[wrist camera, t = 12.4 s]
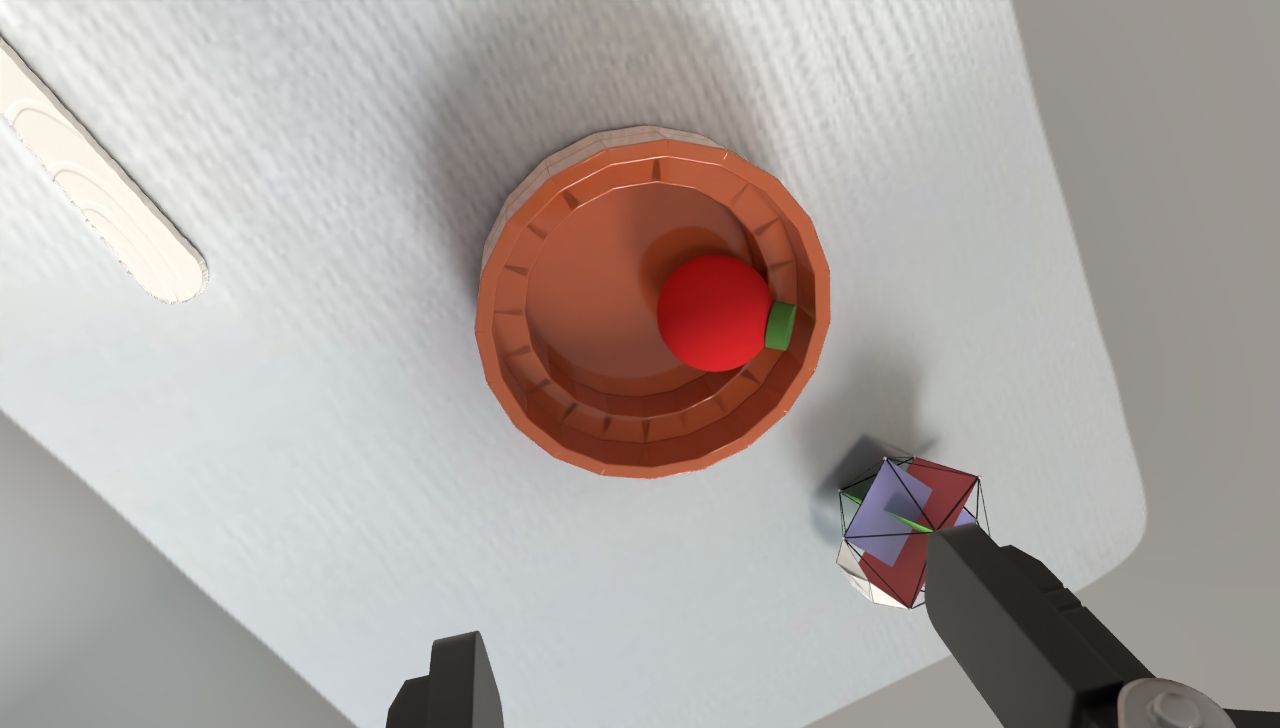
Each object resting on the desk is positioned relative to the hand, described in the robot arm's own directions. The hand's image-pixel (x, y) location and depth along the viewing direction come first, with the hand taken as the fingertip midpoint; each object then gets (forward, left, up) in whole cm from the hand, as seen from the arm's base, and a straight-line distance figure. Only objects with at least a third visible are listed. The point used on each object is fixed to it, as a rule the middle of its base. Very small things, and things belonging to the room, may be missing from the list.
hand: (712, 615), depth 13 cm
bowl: (+1, +2, -20) cm, 20 cm away
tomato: (+1, +2, -18) cm, 18 cm away
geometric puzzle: (+14, +13, -20) cm, 28 cm away
